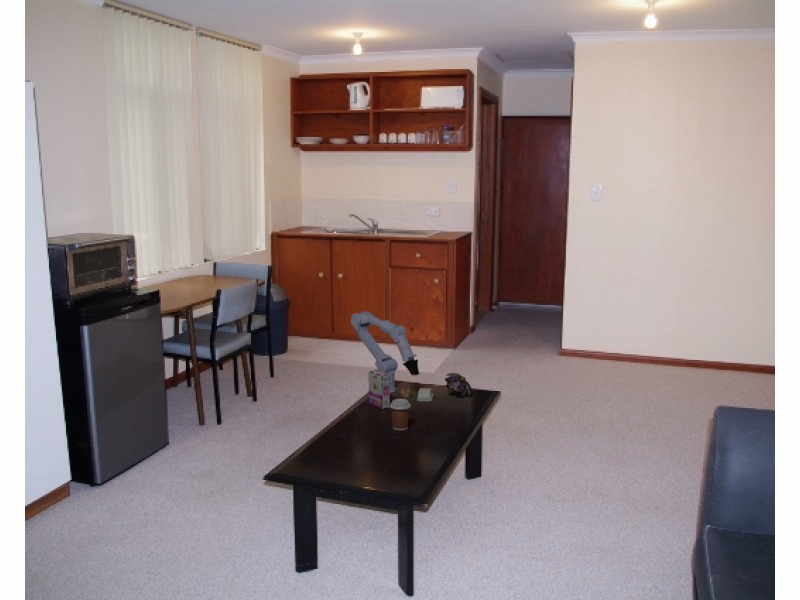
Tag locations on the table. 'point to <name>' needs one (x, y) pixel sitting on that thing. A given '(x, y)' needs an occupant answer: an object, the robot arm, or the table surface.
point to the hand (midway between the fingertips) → (415, 374)
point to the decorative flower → (458, 384)
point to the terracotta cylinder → (405, 393)
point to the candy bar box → (379, 389)
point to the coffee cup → (400, 413)
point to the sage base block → (425, 398)
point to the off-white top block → (424, 392)
